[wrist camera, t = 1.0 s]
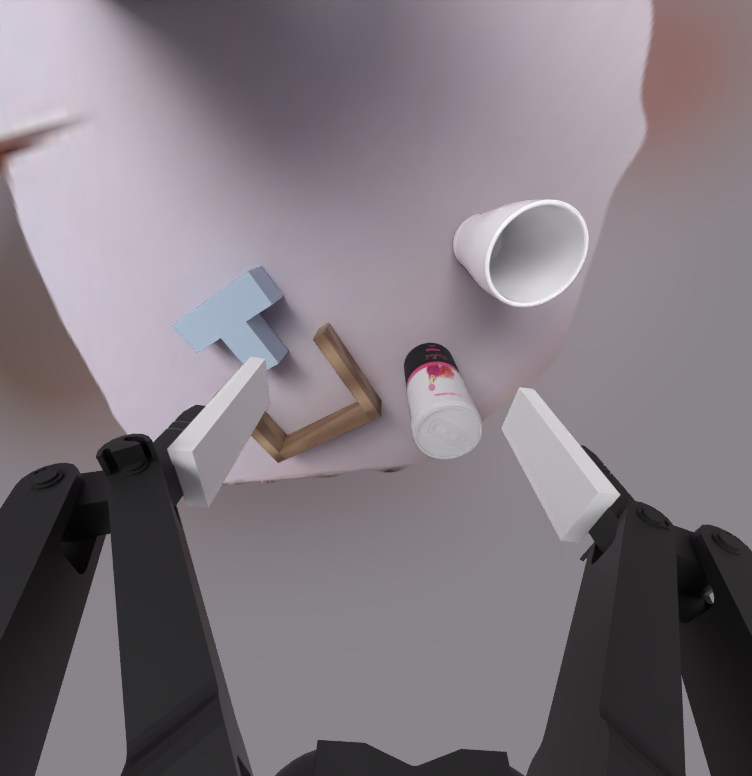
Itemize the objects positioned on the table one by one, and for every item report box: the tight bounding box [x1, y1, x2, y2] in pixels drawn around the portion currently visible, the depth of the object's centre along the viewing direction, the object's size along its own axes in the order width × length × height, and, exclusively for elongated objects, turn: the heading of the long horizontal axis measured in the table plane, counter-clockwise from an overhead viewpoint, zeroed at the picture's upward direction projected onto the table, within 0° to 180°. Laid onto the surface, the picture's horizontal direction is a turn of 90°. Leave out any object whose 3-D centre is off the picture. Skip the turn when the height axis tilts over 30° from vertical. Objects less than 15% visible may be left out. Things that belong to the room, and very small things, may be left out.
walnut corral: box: [213, 323, 381, 463], centre depth 41 cm, size 14×18×4 cm
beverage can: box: [404, 343, 482, 459], centre depth 34 cm, size 6×7×15 cm
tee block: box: [172, 266, 288, 370], centre depth 36 cm, size 10×12×4 cm
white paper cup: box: [453, 199, 589, 307], centre depth 26 cm, size 7×7×15 cm
